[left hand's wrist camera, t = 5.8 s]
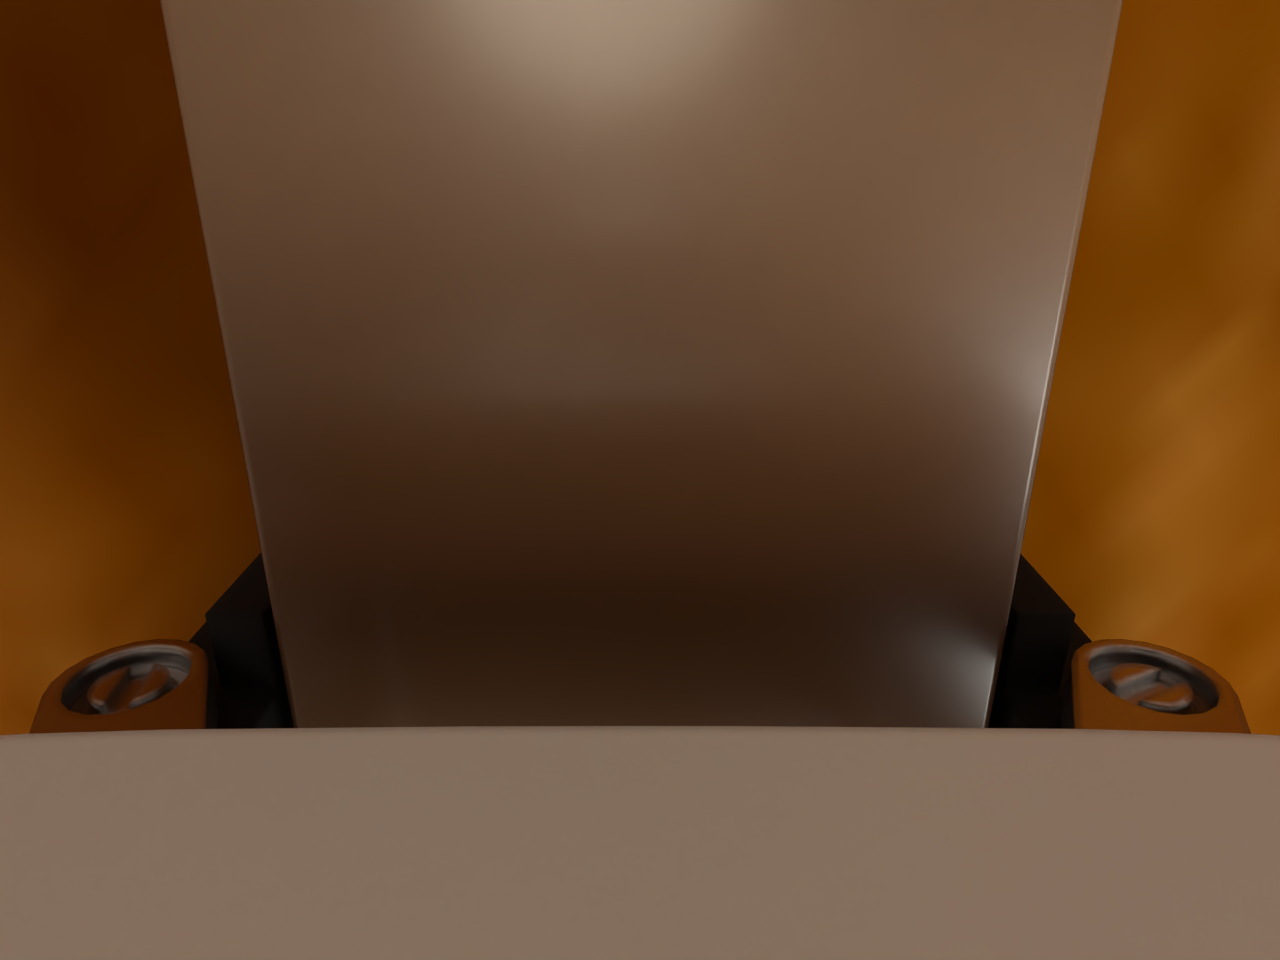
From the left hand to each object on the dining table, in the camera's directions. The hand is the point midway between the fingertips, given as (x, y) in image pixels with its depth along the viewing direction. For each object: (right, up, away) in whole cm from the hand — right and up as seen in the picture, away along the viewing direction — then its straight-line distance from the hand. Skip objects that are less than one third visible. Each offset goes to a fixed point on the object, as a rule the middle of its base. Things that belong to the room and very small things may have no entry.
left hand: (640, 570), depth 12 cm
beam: (0, +20, -6) cm, 21 cm away
